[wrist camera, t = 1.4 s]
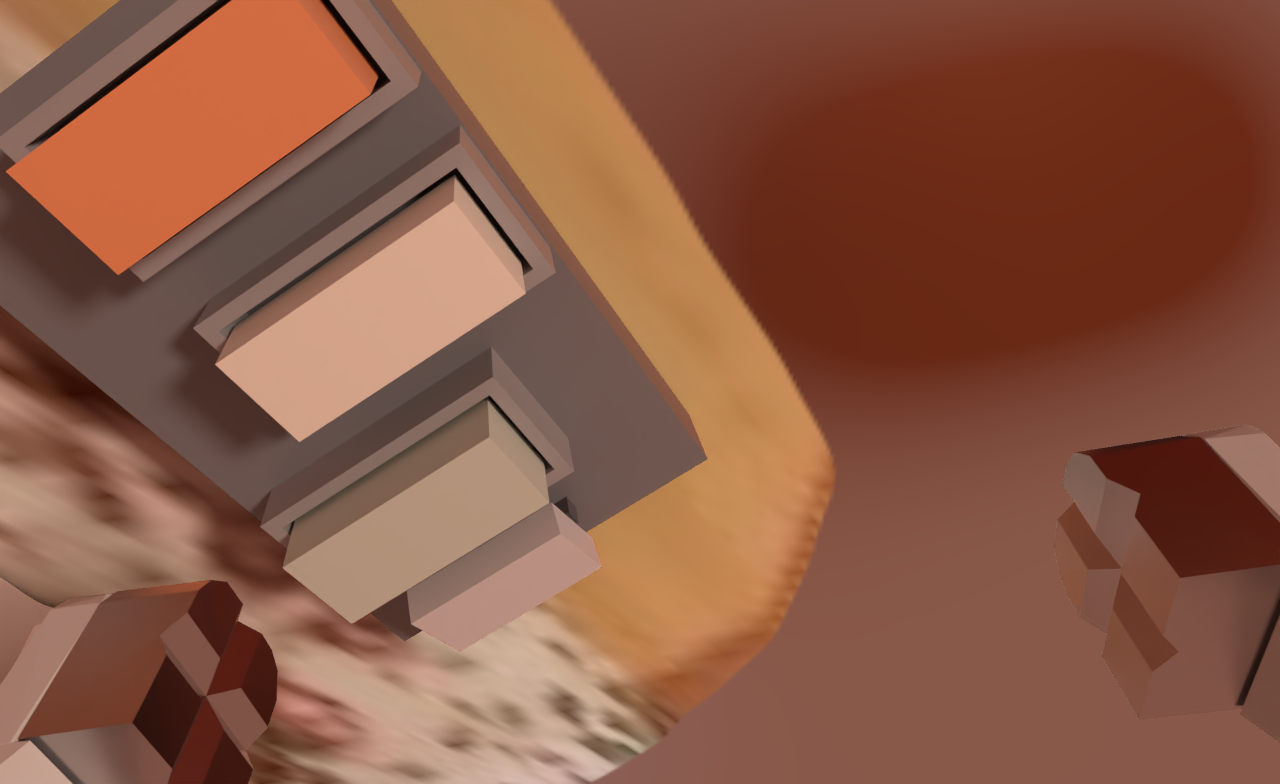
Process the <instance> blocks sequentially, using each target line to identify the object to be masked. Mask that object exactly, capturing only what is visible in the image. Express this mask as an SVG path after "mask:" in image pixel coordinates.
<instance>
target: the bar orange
mask: <svg viewBox="0 0 1280 784" xmlns="http://www.w3.org/2000/svg"><path fill="white" fill-rule="evenodd" d="M378 76H379V74H378V73H377V72H376V70H375V69H374V68H373V66H372V65H371V64H370V63H369V61H368V60H367V59H366V57H365V56H364V55H363V53H362V52H361V51H360V49H359V48H358V47H357V45H356V44H355V43H354V42H353V40H352V39H351V38H350V36H349V35H348V34H347V32H346V31H345V30H344V28H343V27H342V26H341V25H340V23H339V22H338V21H337V19H336V18H335V17H334V15H333V14H332V13H331V11H330V10H329V9H328V7H327V6H326V5H325V4H324V2H323V1H322V0H231V1H230V2H229V3H227V4H226V5H225V6H223V7H222V8H221V9H219V10H218V11H217V12H215V13H214V14H213V15H211V16H210V17H209V18H208V19H206V20H205V21H204V22H202V23H201V24H200V25H198V26H197V27H196V28H194V29H193V30H192V31H190V32H189V33H188V34H186V35H185V36H184V37H182V38H181V39H180V40H178V41H177V42H176V43H175V44H173V45H172V46H171V47H169V48H168V49H167V50H165V51H164V52H163V53H161V54H160V55H159V56H157V57H156V58H155V59H153V60H152V61H151V62H149V63H148V64H147V65H145V66H144V67H143V68H142V69H140V70H139V71H138V72H136V73H135V74H134V75H132V76H131V77H130V78H128V79H127V80H126V81H124V82H123V83H122V84H120V85H119V86H118V87H116V88H115V89H114V90H112V91H111V92H110V93H109V94H107V95H106V96H105V97H103V98H102V99H101V100H99V101H98V102H97V103H95V104H94V105H93V106H91V107H90V108H89V109H87V110H86V111H85V112H83V113H82V114H81V115H79V116H78V117H77V118H76V119H74V120H73V121H72V122H70V123H69V124H68V125H66V126H65V127H64V128H62V129H61V130H60V131H58V132H57V133H56V134H54V135H53V136H52V137H50V138H49V139H48V140H46V141H45V142H44V143H43V144H41V145H40V146H39V147H37V148H36V149H35V150H33V151H32V152H31V153H29V154H28V155H27V156H25V157H24V158H23V159H21V160H20V161H19V162H17V163H16V164H15V165H13V166H12V167H11V168H10V169H8V170H7V171H6V172H7V173H8V174H9V175H10V176H11V177H12V178H13V179H14V180H15V181H17V182H18V183H19V184H20V185H21V186H22V187H23V188H24V189H25V190H26V191H27V192H28V193H30V194H31V195H32V196H33V197H34V198H35V199H36V200H37V201H38V202H39V203H40V204H41V205H43V206H44V207H45V208H46V209H47V210H48V211H49V212H50V213H51V214H52V215H53V216H55V217H56V218H57V219H58V220H59V221H60V222H61V223H62V224H63V225H64V226H65V227H66V228H68V229H69V230H70V231H71V232H72V233H73V234H74V235H75V236H76V237H77V238H78V239H79V240H81V241H82V242H83V243H84V244H85V245H86V246H87V247H88V248H89V249H90V250H91V251H92V252H94V253H95V254H96V255H97V256H98V257H99V258H100V259H101V260H102V261H103V262H104V263H106V264H107V265H108V266H109V267H110V268H111V269H112V270H113V271H114V272H115V273H116V274H117V275H119V274H121V273H122V272H123V271H125V270H126V269H128V268H129V267H130V266H132V265H133V264H135V263H136V262H137V261H139V260H140V259H141V258H143V257H144V256H146V255H147V254H148V253H150V252H151V251H153V250H154V249H155V248H157V247H158V246H160V245H161V244H162V243H164V242H165V241H167V240H168V239H169V238H171V237H172V236H174V235H175V234H176V233H178V232H179V231H181V230H182V229H183V228H185V227H186V226H188V225H189V224H190V223H192V222H193V221H195V220H196V219H197V218H199V217H200V216H201V215H203V214H204V213H206V212H207V211H208V210H210V209H211V208H213V207H214V206H215V205H217V204H218V203H220V202H221V201H222V200H224V199H225V198H227V197H228V196H229V195H231V194H232V193H234V192H235V191H236V190H238V189H239V188H241V187H242V186H243V185H245V184H246V183H248V182H249V181H250V180H252V179H253V178H254V177H256V176H257V175H259V174H260V173H261V172H263V171H264V170H266V169H267V168H268V167H270V166H271V165H273V164H274V163H275V162H277V161H278V160H280V159H281V158H282V157H284V156H285V155H287V154H288V153H289V152H291V151H292V150H294V149H295V148H296V147H298V146H299V145H301V144H302V143H303V142H305V141H306V140H307V139H309V138H310V137H312V136H313V135H314V134H316V133H317V132H319V131H320V130H321V129H323V128H324V127H326V126H327V125H328V124H330V123H331V122H333V121H334V120H335V119H337V118H338V117H340V116H341V115H342V114H344V113H345V112H347V111H348V110H349V109H351V108H352V107H354V106H355V105H356V104H358V103H359V102H360V101H362V100H363V99H365V98H366V97H367V96H369V95H370V94H371V92H372V90H373V88H374V85H375V83H376V81H377V79H378Z"/></svg>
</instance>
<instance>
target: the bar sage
mask: <svg viewBox="0 0 1280 784" xmlns="http://www.w3.org/2000/svg"><path fill="white" fill-rule="evenodd" d="M547 504H549V496H548V489H547V481H546V474H545V466H544V460H543V459H542V458H541V457H540V456H539V455H538V453H537V452H536V451H535V450H534V449H533V448H532V447H531V445H530V444H529V443H528V442H527V441H526V440H525V439H524V437H523V436H522V435H521V434H520V433H519V432H518V431H517V430H516V428H515V427H514V426H513V425H512V424H511V423H510V422H509V420H508V419H507V418H506V417H505V416H504V415H503V414H502V412H501V411H500V410H499V409H498V408H497V407H496V406H495V405H494V403H493V402H492V401H491V400H490V399H489V398H488V397H487V398H485V399H483V400H482V401H480V402H479V403H477V404H476V405H474V406H472V407H471V408H469V409H468V410H466V411H465V412H463V413H462V414H460V415H458V416H457V417H455V418H454V419H452V420H451V421H449V422H447V423H446V424H444V425H443V426H441V427H440V428H438V429H437V430H435V431H433V432H432V433H430V434H429V435H427V436H426V437H424V438H422V439H421V440H419V441H418V442H416V443H415V444H413V445H412V446H410V447H408V448H407V449H405V450H404V451H402V452H401V453H399V454H397V455H396V456H394V457H393V458H391V459H390V460H388V461H387V462H385V463H383V464H382V465H380V466H379V467H377V468H376V469H374V470H372V471H371V472H369V473H368V474H366V475H365V476H363V477H362V478H360V479H358V480H357V481H355V482H354V483H352V484H351V485H349V486H347V487H346V488H344V489H343V490H341V491H340V492H338V493H337V494H335V495H333V496H332V497H330V498H329V499H327V500H326V501H324V502H322V503H321V504H319V505H318V506H316V507H315V508H313V509H312V510H310V511H308V512H307V513H305V514H304V515H302V516H301V517H299V518H297V519H296V520H295V522H294V526H293V529H292V533H291V537H290V541H289V544H288V548H287V552H286V556H285V559H284V563H283V567H282V568H283V569H284V570H285V571H287V572H288V573H289V574H290V575H292V576H293V577H294V578H295V579H297V580H298V581H299V582H300V583H302V584H303V585H304V586H305V587H307V588H308V589H309V590H310V591H311V592H313V593H314V594H315V595H316V596H318V597H319V598H320V599H321V600H323V601H324V602H325V603H326V604H328V605H329V606H330V607H331V608H333V609H334V610H335V611H336V612H338V613H339V614H340V615H341V616H342V617H344V618H345V619H346V620H347V621H349V622H350V623H351V624H352V623H354V622H356V621H357V620H359V619H361V618H362V617H364V616H365V615H367V614H369V613H370V612H372V611H374V610H375V609H377V608H379V607H380V606H382V605H383V604H385V603H387V602H388V601H390V600H392V599H393V598H395V597H396V596H398V595H400V594H401V593H403V592H405V591H406V590H408V589H410V588H411V587H413V586H414V585H416V584H418V583H419V582H421V581H423V580H424V579H426V578H428V577H429V576H431V575H432V574H434V573H436V572H437V571H439V570H441V569H442V568H444V567H446V566H447V565H449V564H450V563H452V562H454V561H455V560H457V559H459V558H460V557H462V556H464V555H465V554H467V553H468V552H470V551H472V550H473V549H475V548H477V547H478V546H480V545H482V544H483V543H485V542H486V541H488V540H490V539H491V538H493V537H495V536H496V535H498V534H500V533H501V532H503V531H504V530H506V529H508V528H509V527H511V526H513V525H514V524H516V523H518V522H519V521H521V520H522V519H524V518H526V517H527V516H529V515H531V514H532V513H534V512H536V511H537V510H539V509H540V508H542V507H544V506H545V505H547Z"/></svg>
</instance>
